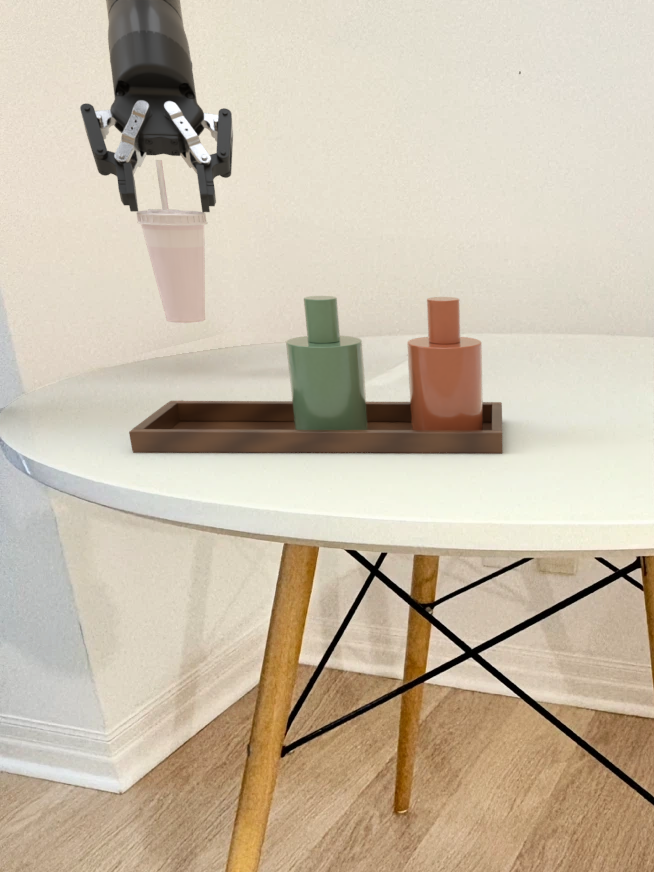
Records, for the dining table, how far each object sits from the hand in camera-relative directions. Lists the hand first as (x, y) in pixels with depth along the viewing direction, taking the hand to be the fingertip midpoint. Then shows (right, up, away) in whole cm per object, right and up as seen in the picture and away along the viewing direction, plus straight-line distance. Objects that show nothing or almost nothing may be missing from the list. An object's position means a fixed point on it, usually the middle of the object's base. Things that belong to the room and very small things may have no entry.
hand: (169, 204), depth 94 cm
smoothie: (-1, -8, +7) cm, 11 cm away
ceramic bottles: (+23, -26, -15) cm, 38 cm away
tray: (+18, -27, -15) cm, 36 cm away
